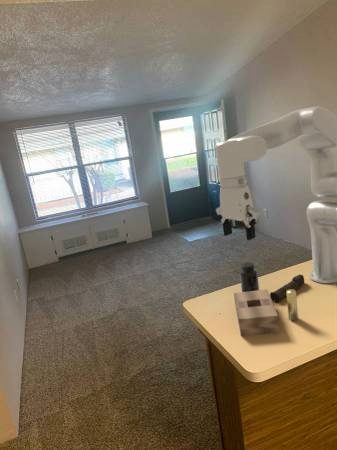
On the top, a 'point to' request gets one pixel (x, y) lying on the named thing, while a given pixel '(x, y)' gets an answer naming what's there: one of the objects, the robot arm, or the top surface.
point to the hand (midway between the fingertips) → (239, 236)
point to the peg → (292, 305)
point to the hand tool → (287, 288)
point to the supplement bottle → (249, 277)
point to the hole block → (256, 313)
